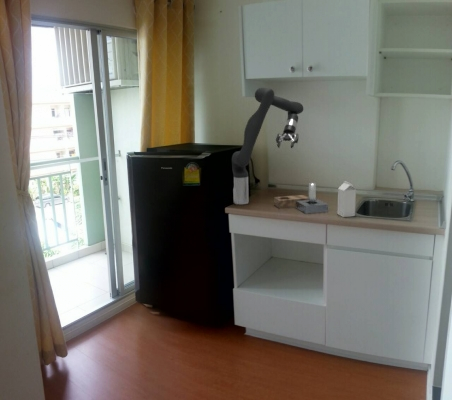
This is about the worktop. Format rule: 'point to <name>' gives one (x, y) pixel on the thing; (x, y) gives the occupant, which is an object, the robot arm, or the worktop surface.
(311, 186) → the axle
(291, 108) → the robot arm
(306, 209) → the holder
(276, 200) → the wooden block with hole
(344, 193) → the milk carton
